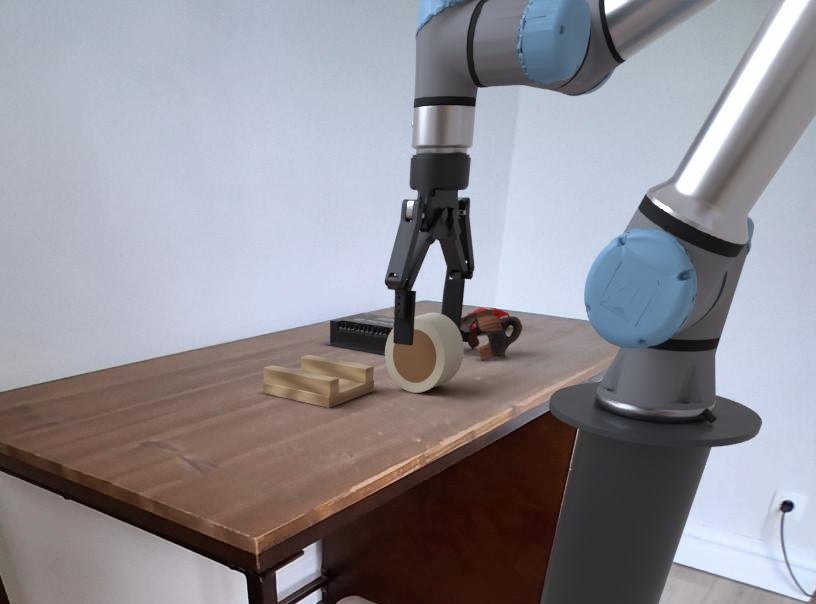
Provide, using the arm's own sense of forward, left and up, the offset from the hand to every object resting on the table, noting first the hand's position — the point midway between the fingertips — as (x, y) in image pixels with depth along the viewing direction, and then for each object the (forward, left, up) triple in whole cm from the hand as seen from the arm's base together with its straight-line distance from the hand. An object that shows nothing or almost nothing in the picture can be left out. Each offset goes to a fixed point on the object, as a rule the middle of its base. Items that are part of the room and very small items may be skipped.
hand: (428, 336), depth 95 cm
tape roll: (0, 0, -7) cm, 7 cm away
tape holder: (+11, +11, -7) cm, 17 cm away
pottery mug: (+3, -27, -8) cm, 28 cm away
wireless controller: (+20, -22, -8) cm, 31 cm away
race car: (+13, -46, -8) cm, 49 cm away
